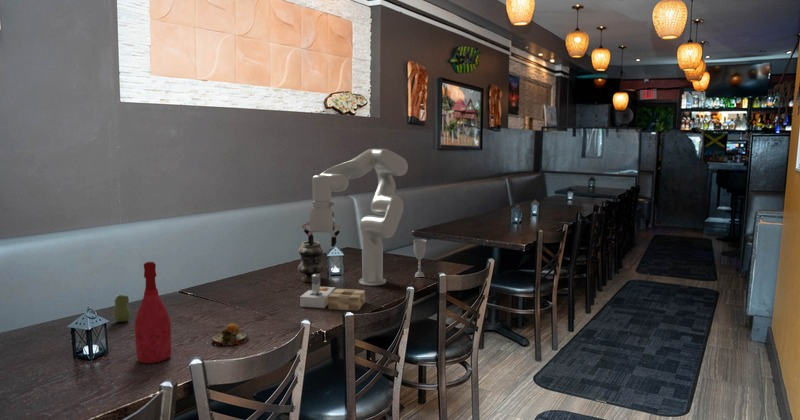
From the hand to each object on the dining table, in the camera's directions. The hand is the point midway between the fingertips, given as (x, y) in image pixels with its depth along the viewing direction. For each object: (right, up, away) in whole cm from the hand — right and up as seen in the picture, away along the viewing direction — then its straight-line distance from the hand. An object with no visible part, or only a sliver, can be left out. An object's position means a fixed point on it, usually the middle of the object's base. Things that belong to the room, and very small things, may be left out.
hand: (322, 245), depth 233 cm
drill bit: (-2, -23, -6) cm, 24 cm away
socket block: (-1, -23, -2) cm, 23 cm away
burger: (-24, -29, -47) cm, 60 cm away
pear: (-69, -26, -29) cm, 79 cm away
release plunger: (0, -21, +3) cm, 21 cm away
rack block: (+11, -24, -8) cm, 27 cm away
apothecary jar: (-10, -18, +33) cm, 39 cm away
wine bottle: (-42, -31, -63) cm, 82 cm away
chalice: (+42, -18, +39) cm, 60 cm away
